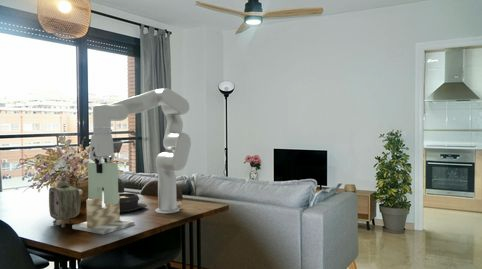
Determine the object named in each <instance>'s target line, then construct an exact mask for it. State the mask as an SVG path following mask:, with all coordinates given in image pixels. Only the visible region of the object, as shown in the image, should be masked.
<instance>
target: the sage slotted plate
mask: <svg viewBox="0 0 482 269" xmlns="http://www.w3.org/2000/svg"><path fill="white" fill-rule="evenodd" d="M101 164H102V173H97V172H96V164H95V162H94V161H88V162H87V183H88V184H87V189H88V191H87V196H88V199H93V198H102V199H103V204H118V194H119V162H110V163H108V162H104V161H101ZM88 199H87V200H88Z"/></svg>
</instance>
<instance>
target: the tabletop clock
mask: <svg viewBox="0 0 482 269" xmlns="http://www.w3.org/2000/svg"><path fill="white" fill-rule="evenodd" d="M62 174H64V176H63V177H62ZM59 176H60V179H61V181H59V182H58V183H57V186H51V187H49V190H48V208H49V209H48V210H49V215H50V217H51V218H52V219H54V220H53V221H52V224H54V225H55V224H57V223H58V221H60V220H63V222H62V224H61V228H63V229H64V228H65V227H66V224H65V223H66V220H67V224H68V225H70V224H71V225H72V221H71V220H70V219H72V218H76V217H77V216H79V215H80V213H81V205H80V194H79V190H78V189H79V188H76V187H74V186H72V185H70V182H69V181H67V177H68V176H67V173H66V171H64V170H63V171H60V174H59Z"/></svg>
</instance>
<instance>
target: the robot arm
mask: <svg viewBox="0 0 482 269" xmlns="http://www.w3.org/2000/svg"><path fill="white" fill-rule="evenodd" d="M159 106H161V110H162V113H163V115H164V116H165V118H166V122H167V123H166V129H165V132H164V137H163V140H162V146H163V147H164V149H166V150H168V151H163V152H159V154H157V156H156V158H155V165H156V171H157V198H158V199H157V201H158V202H157V204H158V207H157V208H155V212H156V213H157V214H174V213H177V212H180V207H178V206H180V205H182V201H177V176H176V173H175V172H176V171H177V172H178V171H179V172H180V171H183V170H184V169H185V167H186V166H187V163H188V160H189V154H190V150H191V145H192V141H191V137H190V135H189V134H188V133H186V132H183V127H184V124H183V119H182V118H181V115H186V114H187V113H188V112H189V111H190V104H189V100H187V99H186V98H184V97H183V96H182V95H180V94H179V93H177V92H175V91H174V90H172V89H170V88H156V89H152V90H148V91H146V92H144V93H141V94H139V95H138V94H137V95H135V96H131V97H128V98H124V99H122V100H118V101H115V102H112V103H110V104H98V103H97V104H93V107H92V126H93V127H92V128H93V130H92V131H93V132H92V133H93V134H92V135H91V137H90V143H89V160H91V161H92V162H95V164H96V172H97V173H102V164H101V162H102V159H103V162H108V163H111V161H112V160H113V158H115V153H114V151H115V148H114V139H113V135H112V133H113V130H112V129H111V128H112V122H120V121H124V120H126V119H127V118H128V117H129V115H133V114H134V115H135V114H141V113H144V112H147V111H149V110H151V109H153V108H157V107H159Z"/></svg>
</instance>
